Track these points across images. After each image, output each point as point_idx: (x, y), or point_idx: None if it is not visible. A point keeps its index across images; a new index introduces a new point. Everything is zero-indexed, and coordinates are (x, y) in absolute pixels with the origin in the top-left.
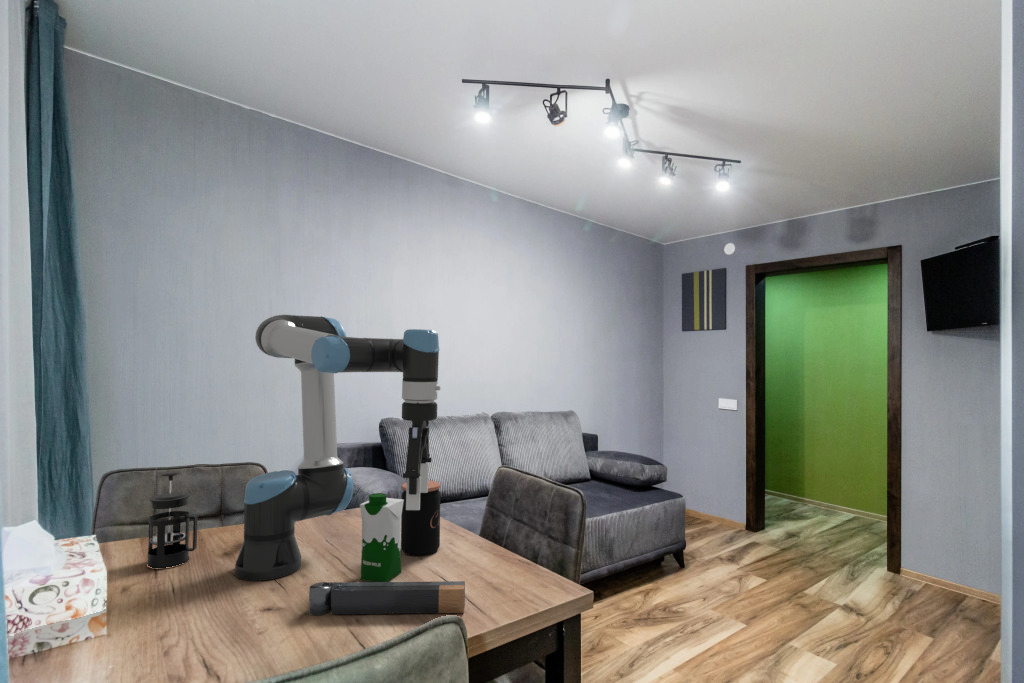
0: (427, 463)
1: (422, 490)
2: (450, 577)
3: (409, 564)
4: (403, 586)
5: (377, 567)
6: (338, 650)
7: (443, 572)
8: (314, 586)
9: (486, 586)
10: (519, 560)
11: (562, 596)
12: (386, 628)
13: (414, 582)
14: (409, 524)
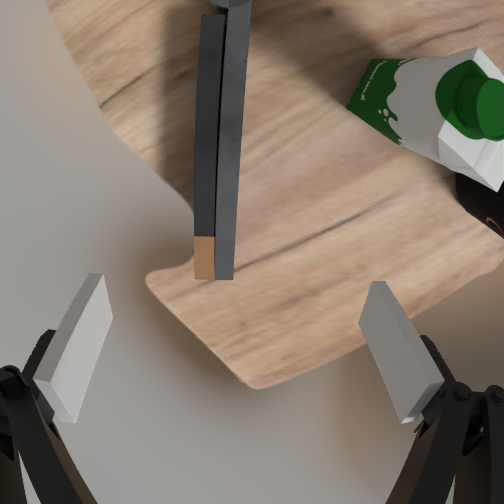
0: (411, 419)
1: (367, 313)
2: (353, 231)
3: None
4: (213, 163)
5: (361, 92)
6: (84, 77)
7: (378, 218)
8: None
9: (301, 288)
10: None
11: (250, 371)
12: (149, 134)
13: (234, 184)
14: None
